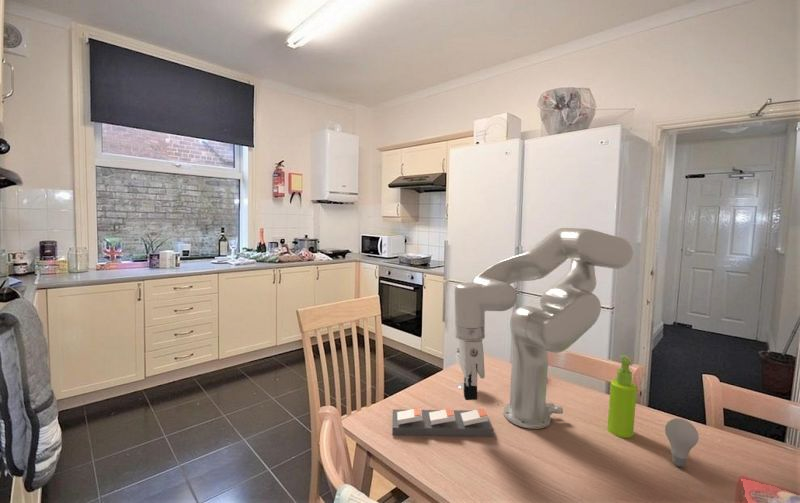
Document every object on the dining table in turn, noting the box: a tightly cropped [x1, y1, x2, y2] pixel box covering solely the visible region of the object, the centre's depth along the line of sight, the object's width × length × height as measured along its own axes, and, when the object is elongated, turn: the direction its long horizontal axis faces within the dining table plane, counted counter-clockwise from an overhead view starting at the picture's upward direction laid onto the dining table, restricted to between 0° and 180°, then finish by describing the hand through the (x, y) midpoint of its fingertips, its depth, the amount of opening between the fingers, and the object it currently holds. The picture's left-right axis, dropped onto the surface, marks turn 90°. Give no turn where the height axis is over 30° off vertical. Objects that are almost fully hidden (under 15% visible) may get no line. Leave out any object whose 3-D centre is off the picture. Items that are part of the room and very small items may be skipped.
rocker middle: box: [429, 407, 455, 425], centre depth 96 cm, size 6×4×1 cm, turn 90°
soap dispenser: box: [607, 354, 638, 439], centre depth 97 cm, size 6×7×20 cm
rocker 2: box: [461, 407, 489, 426], centre depth 97 cm, size 6×4×1 cm, turn 90°
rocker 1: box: [397, 407, 423, 425], centre depth 96 cm, size 6×4×1 cm, turn 90°
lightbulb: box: [664, 417, 700, 468], centre depth 84 cm, size 6×6×11 cm
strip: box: [391, 408, 494, 437], centre depth 98 cm, size 26×9×3 cm, turn 91°
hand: (470, 398), depth 97 cm, fingers closed
